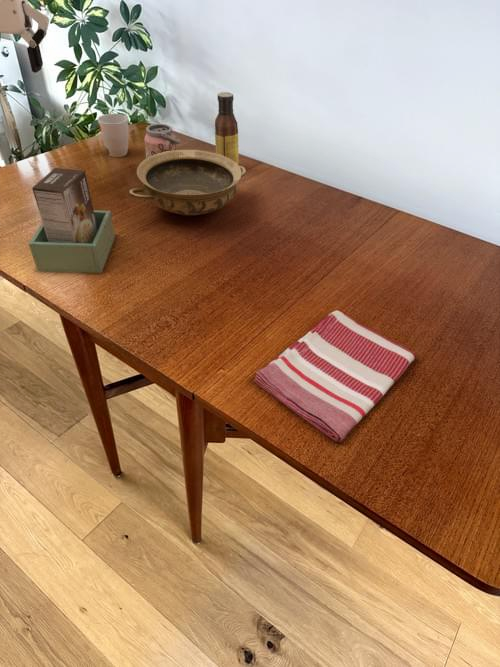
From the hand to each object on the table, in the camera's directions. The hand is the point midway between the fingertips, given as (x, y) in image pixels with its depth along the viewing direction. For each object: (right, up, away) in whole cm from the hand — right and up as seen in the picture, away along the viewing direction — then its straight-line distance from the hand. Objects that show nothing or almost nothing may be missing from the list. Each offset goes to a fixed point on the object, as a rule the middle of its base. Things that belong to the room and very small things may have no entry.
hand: (10, 68), depth 85 cm
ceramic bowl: (+30, -18, +29) cm, 45 cm away
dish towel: (+58, -55, -8) cm, 80 cm away
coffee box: (+8, -31, +13) cm, 35 cm away
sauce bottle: (+37, -3, +46) cm, 59 cm away
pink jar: (+20, -4, +43) cm, 48 cm away
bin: (+8, -32, +13) cm, 35 cm away
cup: (+5, +4, +51) cm, 51 cm away
